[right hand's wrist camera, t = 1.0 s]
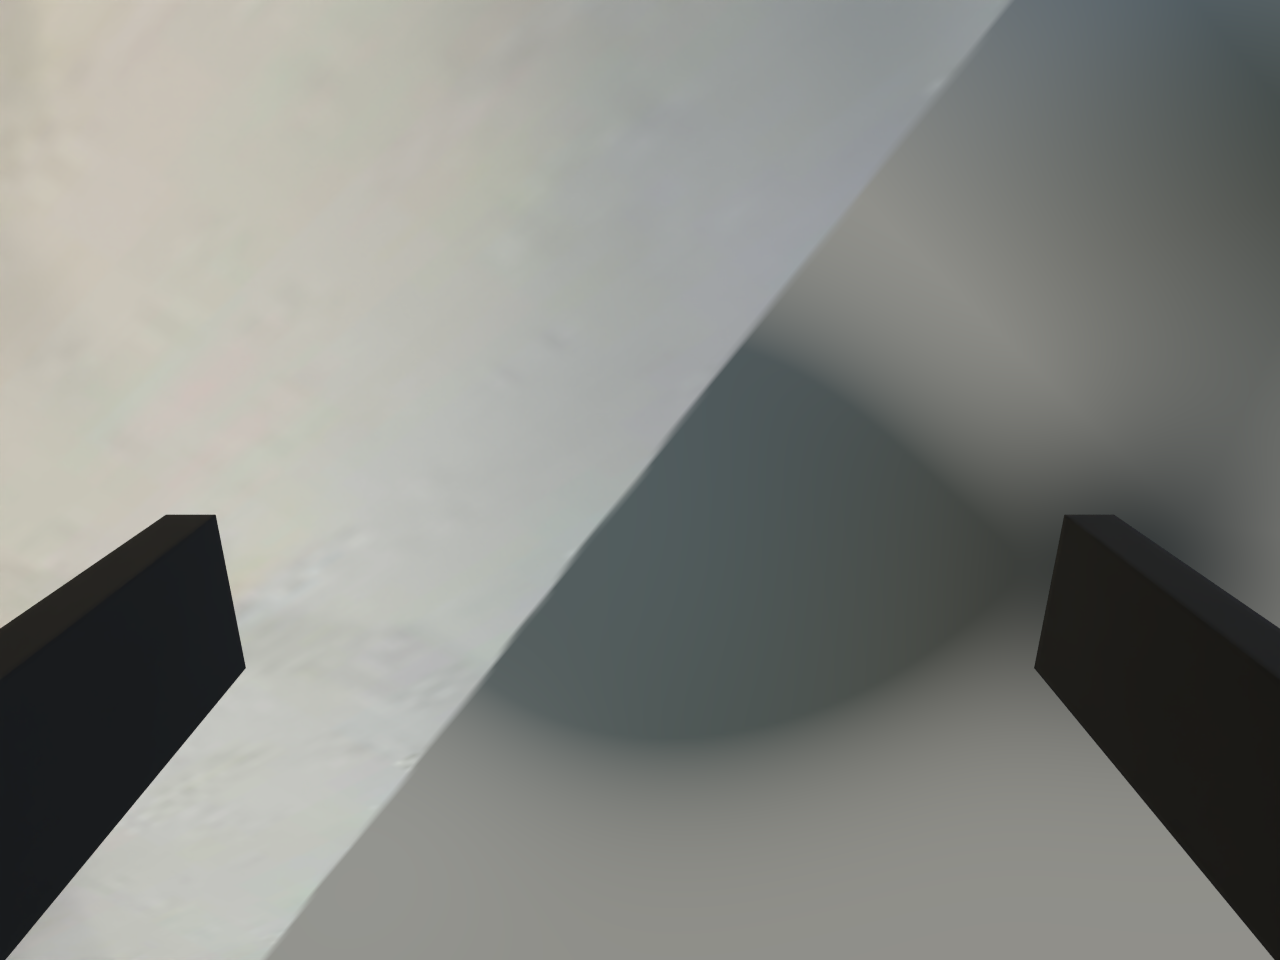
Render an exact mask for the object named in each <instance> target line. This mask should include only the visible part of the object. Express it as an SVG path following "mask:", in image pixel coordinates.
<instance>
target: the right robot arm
mask: <svg viewBox="0 0 1280 960" xmlns="http://www.w3.org/2000/svg"><path fill="white" fill-rule="evenodd" d="M245 668H246V667H245V662H244V657H243V651H242V646H241V641H240V636H239V631H238V626H237V621H236V616H235V611H234V606H233V601H232V596H231V591H230V586H229V580H228V575H227V570H226V565H225V560H224V555H223V550H222V545H221V540H220V535H219V530H218V525H217V520H216V515H165V516H164V517H162V518H161V519H159V520H158V521H156V522H155V523H153V524H152V525H150V526H149V527H148V528H146V529H145V530H143V531H142V532H140V533H139V534H137V535H136V536H134V537H133V538H132V539H130V540H129V541H127V542H126V543H124V544H123V545H121V546H120V547H118V548H117V549H116V550H114V551H113V552H111V553H110V554H108V555H107V556H105V557H104V558H102V559H101V560H99V561H98V562H97V563H95V564H94V565H92V566H91V567H89V568H88V569H86V570H85V571H83V572H82V573H81V574H79V575H78V576H76V577H75V578H73V579H72V580H70V581H69V582H67V583H66V584H65V585H63V586H62V587H60V588H59V589H57V590H56V591H54V592H53V593H51V594H50V595H49V596H47V597H46V598H44V599H43V600H41V601H40V602H38V603H37V604H35V605H34V606H32V607H31V608H30V609H28V610H27V611H25V612H24V613H22V614H21V615H19V616H18V617H16V618H15V619H14V620H12V621H11V622H9V623H8V624H6V625H5V626H3V627H2V628H0V960H6V958H7V957H8V956H9V955H10V954H11V952H12V951H13V950H14V949H15V947H16V946H17V945H18V944H19V943H20V941H21V940H22V939H23V938H24V937H25V935H26V934H27V933H28V932H29V930H30V929H31V928H32V927H33V926H34V924H35V923H36V922H37V921H38V920H39V918H40V917H41V916H42V915H43V913H44V912H45V911H46V910H47V909H48V907H49V906H50V905H51V904H52V903H53V901H54V900H55V899H56V898H57V896H58V895H59V894H60V893H61V892H62V890H63V889H64V888H65V887H66V886H67V884H68V883H69V882H70V881H71V879H72V878H73V877H74V876H75V875H76V873H77V872H78V871H79V870H80V869H81V867H82V866H83V865H84V864H85V862H86V861H87V860H88V859H89V858H90V856H91V855H92V854H93V853H94V852H95V850H96V849H97V848H98V847H99V845H100V844H101V843H102V842H103V841H104V839H105V838H106V837H107V836H108V835H109V833H110V832H111V831H112V830H113V828H114V827H115V826H116V825H117V824H118V822H119V821H120V820H121V819H122V818H123V816H124V815H125V814H126V813H127V811H128V810H129V809H130V808H131V807H132V805H133V804H134V803H135V802H136V801H137V799H138V798H139V797H140V796H141V794H142V793H143V792H144V791H145V790H146V788H147V787H148V786H149V785H150V784H151V782H152V781H153V780H154V779H155V778H156V776H157V775H158V774H159V773H160V771H161V770H162V769H163V768H164V767H165V765H166V764H167V763H168V762H169V761H170V759H171V758H172V757H173V756H174V754H175V753H176V752H177V751H178V750H179V748H180V747H181V746H182V745H183V744H184V742H185V741H186V740H187V739H188V737H189V736H190V735H191V734H192V733H193V731H194V730H195V729H196V728H197V727H198V725H199V724H200V723H201V722H202V720H203V719H204V718H205V717H206V716H207V714H208V713H209V712H210V711H211V710H212V708H213V707H214V706H215V705H216V703H217V702H218V701H219V700H220V699H221V697H222V696H223V695H224V694H225V693H226V691H227V690H228V689H229V688H230V686H231V685H232V684H233V683H234V682H235V680H236V679H237V678H238V677H239V676H240V674H241V673H242V672H243V671H244V669H245ZM1034 668H1035V669H1036V671H1037V672H1038V673H1039V674H1040V676H1041V677H1042V678H1043V679H1044V680H1045V682H1046V683H1047V684H1048V685H1049V686H1050V688H1051V689H1052V690H1053V691H1054V692H1055V694H1056V695H1057V696H1058V697H1059V699H1060V700H1061V701H1062V702H1063V703H1064V705H1065V706H1066V707H1067V708H1068V710H1069V711H1070V712H1071V713H1072V714H1073V716H1074V717H1075V718H1076V719H1077V720H1078V722H1079V723H1080V724H1081V725H1082V726H1083V728H1084V729H1085V730H1086V731H1087V733H1088V734H1089V735H1090V736H1091V737H1092V739H1093V740H1094V741H1095V742H1096V744H1097V745H1098V746H1099V747H1100V748H1101V750H1102V751H1103V752H1104V753H1105V754H1106V756H1107V757H1108V758H1109V759H1110V761H1111V762H1112V763H1113V764H1114V765H1115V767H1116V768H1117V769H1118V770H1119V771H1120V772H1121V774H1122V775H1123V776H1124V778H1125V779H1126V780H1127V781H1128V782H1129V784H1130V785H1131V786H1132V787H1133V788H1134V790H1135V791H1136V792H1137V793H1138V794H1139V796H1140V797H1141V798H1142V799H1143V800H1144V802H1145V803H1146V804H1147V805H1148V807H1149V808H1150V809H1151V810H1152V811H1153V813H1154V814H1155V815H1156V816H1157V818H1158V819H1159V820H1160V821H1161V822H1162V824H1163V825H1164V826H1165V827H1166V828H1167V830H1168V831H1169V832H1170V833H1171V835H1172V836H1173V837H1174V838H1175V839H1176V841H1177V842H1178V843H1179V844H1180V845H1181V847H1182V848H1183V849H1184V850H1185V851H1186V853H1187V854H1188V855H1189V856H1190V858H1191V859H1192V860H1193V861H1194V862H1195V864H1196V865H1197V866H1198V867H1199V868H1200V870H1201V871H1202V872H1203V873H1204V875H1205V876H1206V877H1207V878H1208V879H1209V881H1210V882H1211V883H1212V884H1213V886H1214V887H1215V888H1216V889H1217V890H1218V892H1219V893H1220V894H1221V895H1222V896H1223V898H1224V899H1225V900H1226V901H1227V903H1228V904H1229V905H1230V906H1231V907H1232V909H1233V910H1234V911H1235V912H1236V913H1237V915H1238V916H1239V917H1240V918H1241V920H1242V921H1243V922H1244V923H1245V924H1246V925H1247V927H1248V928H1249V929H1250V930H1251V932H1252V933H1253V934H1254V935H1255V937H1256V938H1257V939H1258V940H1259V941H1260V943H1261V944H1262V945H1263V946H1264V947H1265V949H1266V950H1267V951H1268V952H1269V953H1270V955H1271V956H1272V957H1273V958H1274V960H1280V628H1278V627H1277V626H1275V625H1274V624H1272V623H1271V622H1269V621H1268V620H1266V619H1265V618H1264V617H1262V616H1261V615H1259V614H1258V613H1256V612H1255V611H1253V610H1252V609H1250V608H1249V607H1248V606H1246V605H1245V604H1243V603H1242V602H1240V601H1239V600H1237V599H1236V598H1234V597H1233V596H1231V595H1230V594H1229V593H1227V592H1226V591H1224V590H1223V589H1221V588H1220V587H1218V586H1217V585H1215V584H1214V583H1213V582H1211V581H1210V580H1208V579H1207V578H1205V577H1204V576H1202V575H1201V574H1199V573H1198V572H1197V571H1195V570H1194V569H1192V568H1191V567H1189V566H1188V565H1186V564H1185V563H1183V562H1182V561H1181V560H1179V559H1178V558H1176V557H1175V556H1173V555H1172V554H1170V553H1169V552H1167V551H1166V550H1164V549H1163V548H1161V547H1160V546H1159V545H1157V544H1156V543H1154V542H1153V541H1151V540H1150V539H1148V538H1147V537H1146V536H1144V535H1143V534H1141V533H1140V532H1138V531H1137V530H1135V529H1134V528H1132V527H1131V526H1129V525H1128V524H1127V523H1125V522H1124V521H1122V520H1121V519H1119V518H1118V517H1116V516H1115V515H1064V520H1063V525H1062V530H1061V535H1060V540H1059V545H1058V550H1057V555H1056V560H1055V565H1054V570H1053V575H1052V581H1051V586H1050V591H1049V596H1048V601H1047V606H1046V611H1045V616H1044V621H1043V626H1042V631H1041V636H1040V641H1039V647H1038V651H1037V657H1036V662H1035V667H1034Z"/></svg>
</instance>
